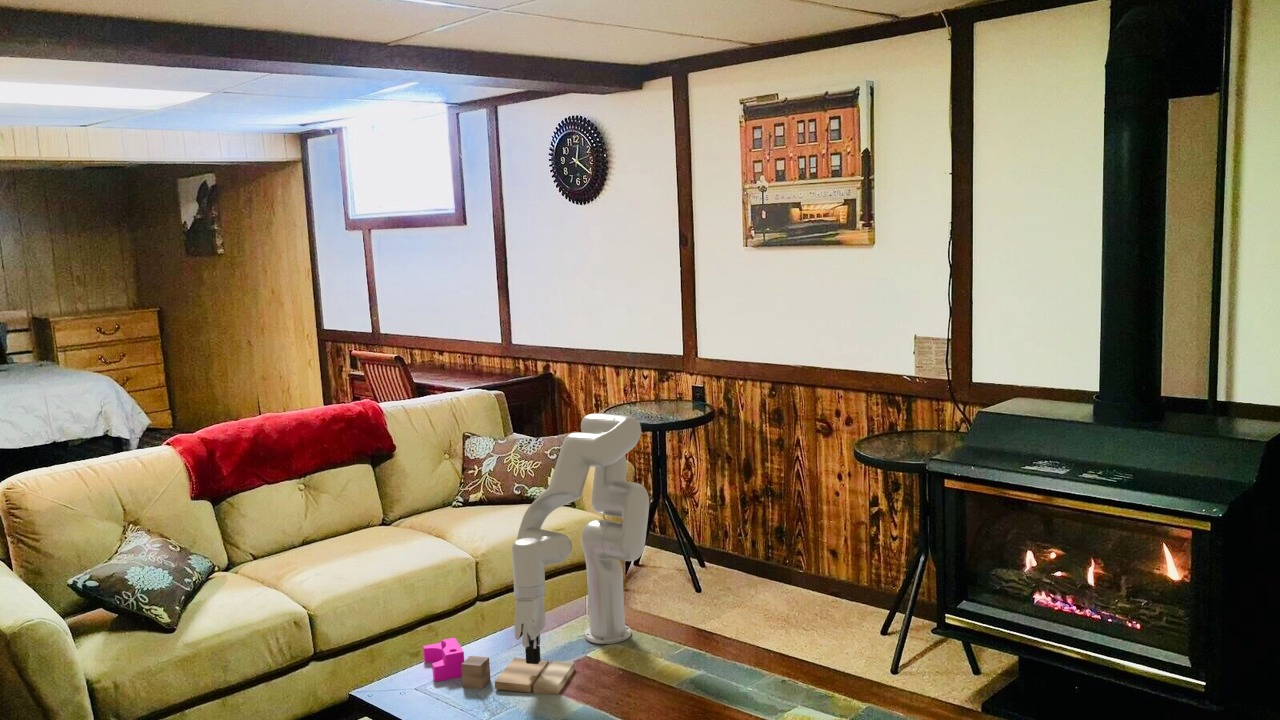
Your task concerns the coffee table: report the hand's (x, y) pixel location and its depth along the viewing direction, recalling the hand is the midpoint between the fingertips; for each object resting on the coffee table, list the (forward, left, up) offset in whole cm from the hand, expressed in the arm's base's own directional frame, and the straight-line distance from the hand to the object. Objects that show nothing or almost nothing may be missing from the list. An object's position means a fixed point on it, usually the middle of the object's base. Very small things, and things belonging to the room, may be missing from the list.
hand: (533, 662), depth 250 cm
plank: (0, +2, -3) cm, 3 cm away
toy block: (-7, -22, -2) cm, 23 cm away
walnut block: (+4, -14, -5) cm, 15 cm away
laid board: (0, +5, -5) cm, 7 cm away
